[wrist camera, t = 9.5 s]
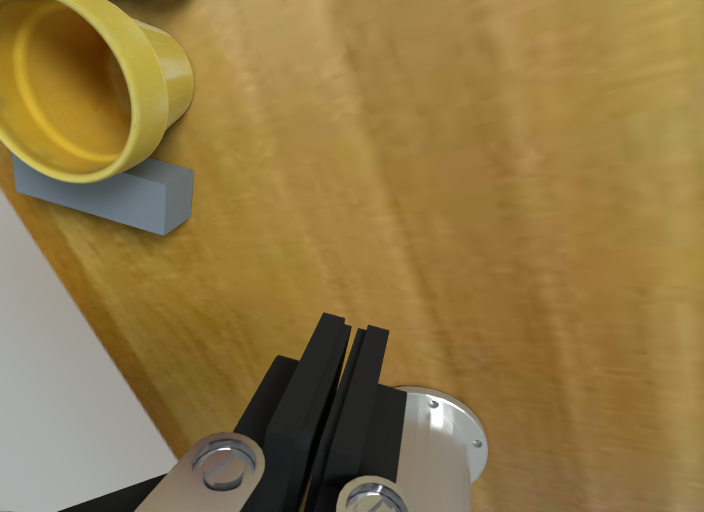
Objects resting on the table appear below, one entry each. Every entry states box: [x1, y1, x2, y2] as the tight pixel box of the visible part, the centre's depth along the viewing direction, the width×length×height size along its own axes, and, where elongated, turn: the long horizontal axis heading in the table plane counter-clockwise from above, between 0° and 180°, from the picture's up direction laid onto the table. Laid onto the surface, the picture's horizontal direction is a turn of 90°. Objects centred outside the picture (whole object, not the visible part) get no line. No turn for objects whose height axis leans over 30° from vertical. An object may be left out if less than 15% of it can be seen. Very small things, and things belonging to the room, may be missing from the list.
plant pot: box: [0, 0, 194, 184], centre depth 30 cm, size 10×10×10 cm
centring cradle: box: [12, 153, 194, 236], centre depth 32 cm, size 21×12×4 cm, turn 167°
